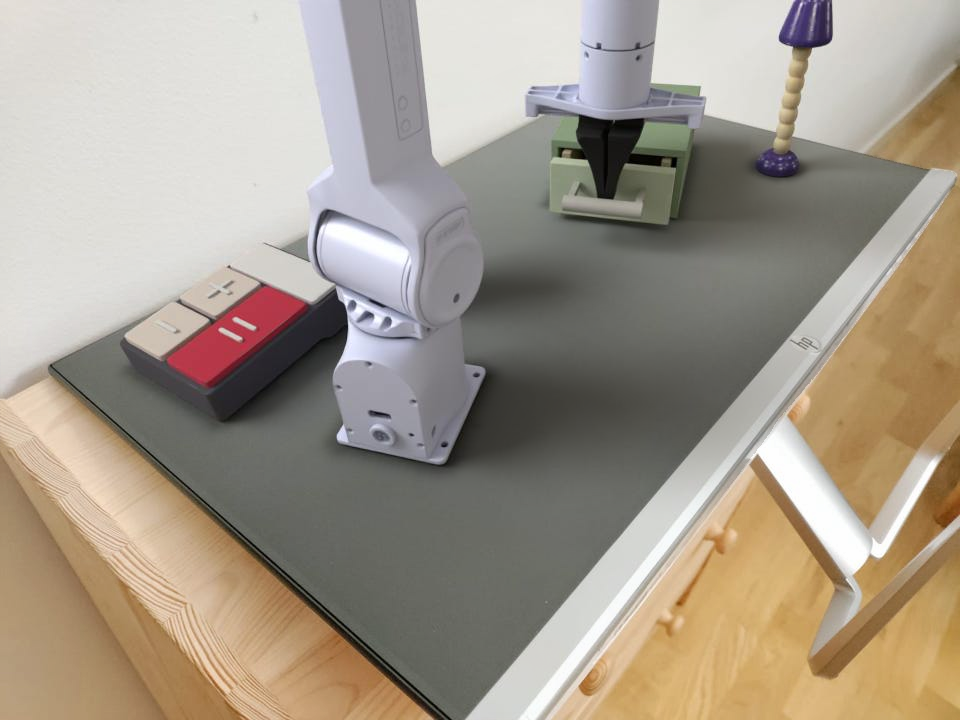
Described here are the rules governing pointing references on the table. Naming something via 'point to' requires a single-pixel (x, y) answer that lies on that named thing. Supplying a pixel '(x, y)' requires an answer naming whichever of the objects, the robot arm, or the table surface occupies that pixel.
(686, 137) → the cabinet
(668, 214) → the drawer
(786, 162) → the toy lamp
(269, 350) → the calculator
